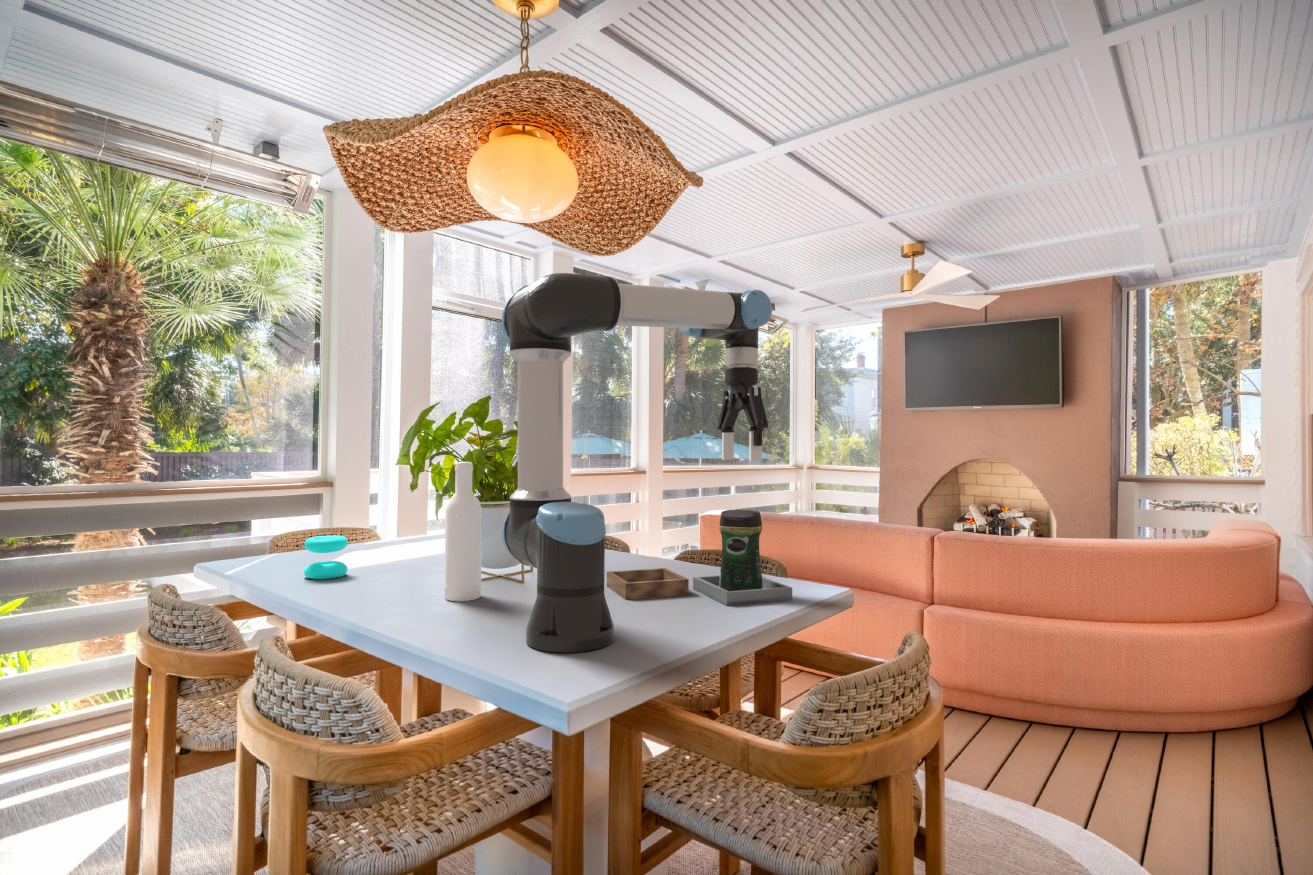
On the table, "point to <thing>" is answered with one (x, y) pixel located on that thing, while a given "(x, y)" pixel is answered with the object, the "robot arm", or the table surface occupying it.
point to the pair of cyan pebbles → (325, 567)
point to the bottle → (463, 539)
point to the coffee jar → (740, 550)
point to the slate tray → (742, 591)
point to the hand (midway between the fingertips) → (741, 460)
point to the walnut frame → (647, 583)
